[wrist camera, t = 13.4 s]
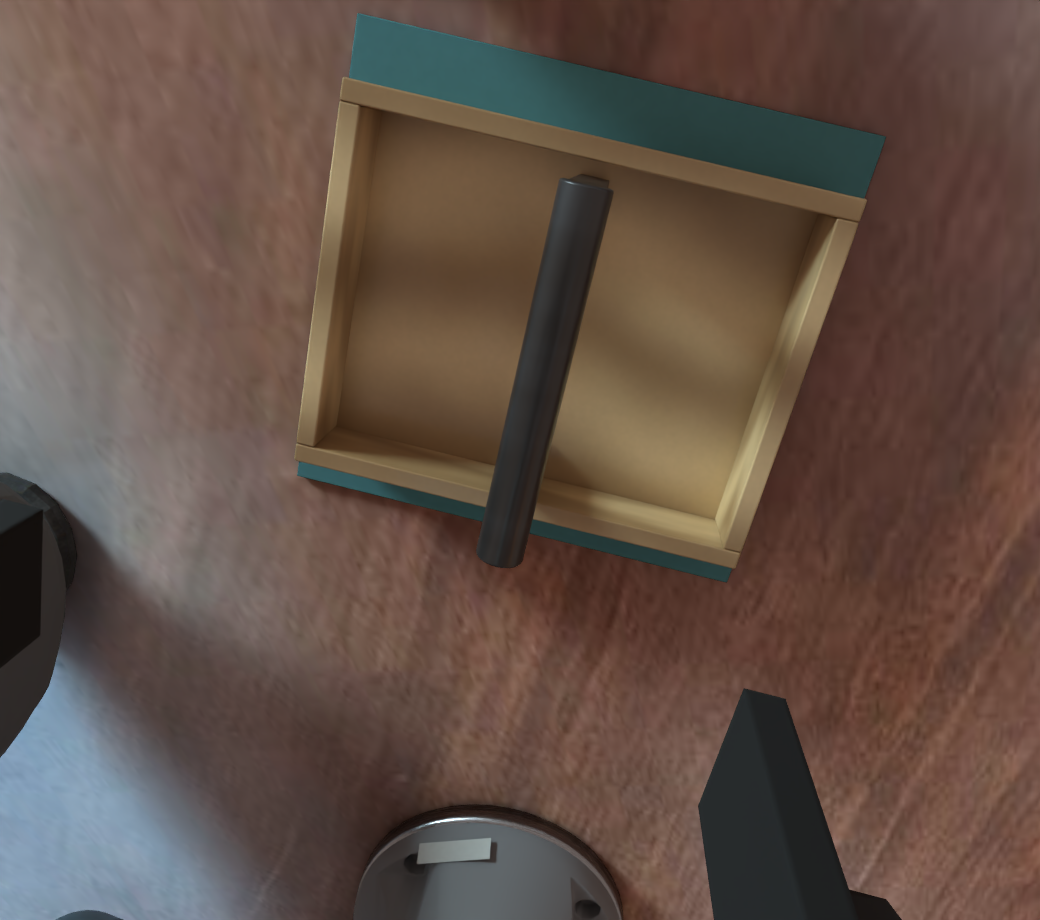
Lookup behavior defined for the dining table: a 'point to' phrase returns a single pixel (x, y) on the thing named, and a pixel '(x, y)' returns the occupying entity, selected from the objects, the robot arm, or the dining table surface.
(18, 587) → the robot arm
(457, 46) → the mat
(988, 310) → the dining table surface
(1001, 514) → the dining table surface
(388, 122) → the tray
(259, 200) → the dining table surface
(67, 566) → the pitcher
